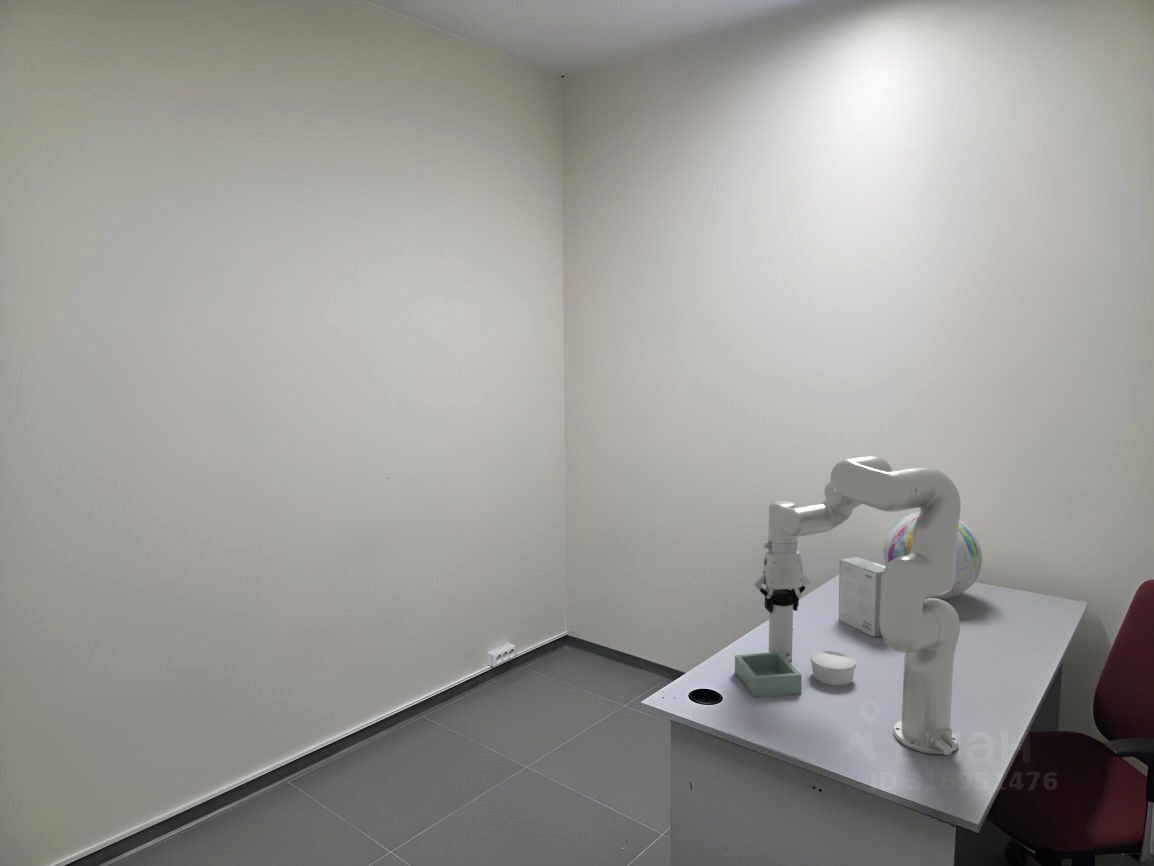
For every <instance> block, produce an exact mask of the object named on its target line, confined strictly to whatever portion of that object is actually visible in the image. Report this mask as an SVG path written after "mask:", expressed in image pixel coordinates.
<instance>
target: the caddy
mask: <svg viewBox="0 0 1154 866" xmlns="http://www.w3.org/2000/svg"><path fill="white" fill-rule="evenodd" d="M734 674H735V675H736V676H737V678H738V679H739V680H740V681H741V683H742V684H743V686H744V687H745V689H747V692H749V693H750V695H751V696H752V697H753V698H755V699H757V698H765V697H767V698H768V697H777V696H778V697H779V696H789V695H790V696H792V695H801V694H802V674H801V673H800V671H799V670H798V669H796V667H795V666H794V665H793V664H792V662H791V663H790V662H789V661H788V660H787V659H786V658H785V657H784V656H783V655H782V654H781V653H780V652H771V653H769V652H763V653H762V652H759V653H747V654H746V653H745V654H735V655H734Z"/></svg>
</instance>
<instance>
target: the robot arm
mask: <svg viewBox="0 0 1154 866" xmlns="http://www.w3.org/2000/svg"><path fill="white" fill-rule="evenodd" d="M823 492H824V497H825V500H823V501H821V502H820V503H816V504H809V505H802V506H798V505H797V504H796V503H795V502H793V501H789V500H775V501H772V502H771V503H770V504H769V506H768V539H767V542H766V543H763V548H764V549H767V550H765V554H764V558H763V565H762V575H760V576H759V578H758V579H756V580H755V581H754V582H753V586H754V587H755V588H756V589H757V590H758V591H759V592H760V593H761V594H762V595H763V596H764V608H765V609H766V610H767V612H770V613H772V612H773V599H772V598H771V596H772V594H773V591H774V590H785V589H788V590H794V592H795V595H794V594H793V612H794V611H795V612H797V611H798V607H799V605H800V604H799V602H800V601H799V599H800V598H799V597H800V596H801V595H802V593H803V592H804V591H805V590H806V588H807V587H808V586H809V585H810V583H811V581H810V580H809V579H808V578H807V577H806V576H805V575H804V570H803V569H804V568H803V561H802V554H801V552H800V551H799V550H798V538H799V537H805V536H809V535H815V534H821V533H826V532H829V531H831V530H833V529H835V528H836V527H838V526H840V525H842V524H843V523H844V522H846V521H847V520H848V519H850V517H851V516H852V514H853V511H854V509H856V508H858V507H859V506H861V505H865V506H868V507H871V508H873V509H876V510H879V511H883V512H891V513H892V512H900V511H907V510H912V509H916V508H919V509H920V511H919V512H920V514H919V516H918V518H917V520H916V522H915V525H914V528H913V541H912V549H911V553H910V554H909V555H906V556H901V557H898V558H895V559H893V560H892V561H890V562H889V563H888V564H887V566H886V565H885V566H886V567H885V569H884V571H883V574H882V579H881V595H880V630H881V634H882V635H881V636H882V638H883V641H884V642H885V644H886V645H887V646H888V647H889V648H890V649H891V650H893V651H895V652H898V653H901V654H904V657H903V658H904V661H903V673H902V674H903V677H902V678H903V679H902V704H901V706H902V707H901V720H900V721H897V722H896V723H895V724H894V725H893V735H894V737H895V738H896V740H898V741H899V742H900V743H901V744H903V746H906V747H907V748H909V749H912V750H915V751H917V752H921V753H925V754H930V755H946V756H949V755H951V753H952V752H954V751H956V750H957V749H958V748H959V745H958V744H959V743H958V741H959V740H958V738H957V736H956V735H955V733H953V729H951V717H952V699H953V698H952V695H953V676H954V664H955V663H954V662H955V654H956V653H955V652H956V649H957V644H958V641H959V637H960V632H961V621H960V620H961V619H960V617H959V614H958V612H957V611H956V609H955V608H954V607H953V605H951V604H950V603H949V602H948V601H946V600H945V599H942V600H941V599H937V598H933V597H936V596H940V595H943V594H945V593H947V592H949V591H950V590H951V589H952V588H953V586H954V583H955V576H956V559H957V535H958V526H959V520H960V518H961V512H962V511H961V510H962V508H961V507H962V504H961V497H960V492H959V490H958V488H957V486H956V484H955V483H954V481H952V479H951V478H950V477H949V476H948V475H947V474H945V473H944V472H942V471H940V470H939V469H934V468H932V467H931V468H930V467H914V468H913V467H912V468H906V469H900V470H893V469H892V466H891V465H890V464H889V462H887V461H886V460H885V459H884V458H882V457H878V456H861V457H860V456H859V457H853V458H846V459H842V460H841V461H839V462H837V463H836V464H835V465H834V466H833V468H832V469H831V472H830V481H828V482H827V483H826V485H825V487H824V491H823ZM762 585H764V586H765V587H763V586H762Z"/></svg>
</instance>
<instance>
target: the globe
mask: <svg viewBox="0 0 1154 866" xmlns="http://www.w3.org/2000/svg"><path fill="white" fill-rule="evenodd" d="M919 514H920V511H916V512H913V513H910V514H908V515H906V516H904V517H902V518H900V519H899V520H898V521H897V522H896V523H894V525H893V526H892V527H891V528H890V529H889V531H888V533H887V534H886V537H885V540H884V545H883V551H882V552H883V559H884V564H885V566H887V564H888V563H889V562H890V561H892V560H893V559H895V558H898V557H901V556H906V555H909V554H910V553H911V549H912V541H913V528H914V525H915V522H916V520H917V518H918V516H919ZM982 564H983V554H982V548H981V545H980V543H979V540H978V539H977V536H976V534H975V533H974V532H973V531H972V530H971V528H970V527H969V526H968V525H967V524H966V523H964V522H963V520H960V519H959V526H958V535H957V559H956V576H955V583H954V586H953V588H952V589H951V590H950V591H949V592H947V593H945V594H943V595H940V596H936V597H933V598H937V599H941V600H947V599H951V598H955V597H957V596H959V595H961V594H963V593H964V592H966V591H967V590H968V589H970V587H971V586H972V585H973V584H974V583H975V582H976V580H977V579H978V577H979V575H980V572H981V568H982Z"/></svg>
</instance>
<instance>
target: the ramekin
mask: <svg viewBox="0 0 1154 866" xmlns="http://www.w3.org/2000/svg"><path fill="white" fill-rule="evenodd" d="M810 663H811V669H812V674H813V676H814V678H815V680H818V682H820V683H822V684H825V685H828V686H834V687H840V686H841V687H842V686H846V685H849V684H850V683H851V682H852V680H853V678H854V674H855V669H856V667H857V661H856V659H855V658H853V656H851V655H848V654H846V653H844V652H843V653H842V652H841V651H840V652H839V651H836V650H818V651H815V652H813V653H812V654H811V656H810Z"/></svg>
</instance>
